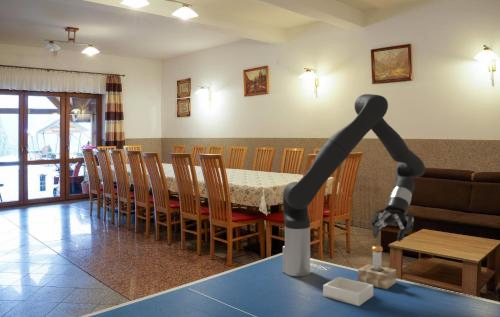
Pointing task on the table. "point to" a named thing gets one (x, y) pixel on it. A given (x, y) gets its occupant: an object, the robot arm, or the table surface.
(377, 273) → the block
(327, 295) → the tray
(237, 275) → the table surface
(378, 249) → the lock pin
